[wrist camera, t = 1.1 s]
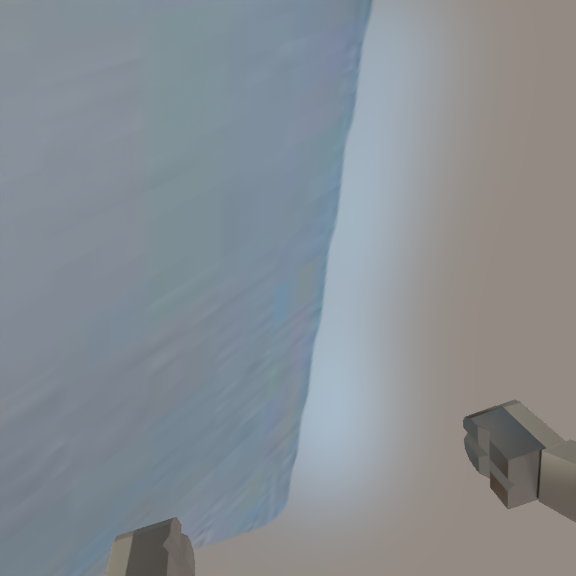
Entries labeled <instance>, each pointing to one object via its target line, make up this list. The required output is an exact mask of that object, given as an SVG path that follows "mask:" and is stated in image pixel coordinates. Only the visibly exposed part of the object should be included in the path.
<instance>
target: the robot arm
mask: <svg viewBox="0 0 576 576" xmlns="http://www.w3.org/2000/svg"><path fill="white" fill-rule="evenodd" d="M463 427H464V429H465V430H466V431H467V432H468V433H467V435H466V437H465V438H464V444H465V450H466V452H467V455H468V457H469V459H470V461H471V462H472V464H473V466H474V467H475V468H476V470H477V471H478V472H479V473H480V474H482V475H484V476H486V477H488V478H490V488H491V489H492V490H493V491H494V493H495V494H496V495H497V496H498V498H499V499H500V500H501V501H502V503H503V504H504V505H505V507H506V508H507V509H511V508H514V507H517V506H520V505H523V504H526V503H528V502H532V501H535V500H537V499H539V502H541V503H543V504H544V505H546V506H548V507H550V508H551V509H553V510H555V511H557V512H558V513H560V514H562V515H564V516H566V517H567V518H569V519H571V520H572V521H574V522H576V441H573V440H569V441H565V440H564V439H563V438H561V437H560V436H559V435H558V434H557V433H556V432H554V431H553V430H552V429H551V428H550V427H548V426H547V425H546V424H545V423H544V422H543V421H542V420H540V419H539V418H538V417H537V416H536V415H534V414H533V413H532V412H531V411H530V410H529V409H528V408H526V407H525V406H524V405H523V404H522V403H521V402H520V401H517V400H512V401H509V402H506V403H503V404H500V405H498V406H494V407H491V408H488V409H485V410H483V411H480V412H477V413H474V414H471V415H469V416H466V417H465V418H464V420H463ZM106 576H195V560H194V553H193V548H192V545H191V542H190V540H189V538H188V536H187V535H184V534H182V533H181V524H180V522H179V520H178V519H177V517H175V518H172V519H168V520H165V521H162V522H159V523H156V524H153V525H149V526H146V527H143V528H140V529H137V530H134V531H131V532H128V533H125V534H122V535H119V536H117V537H116V539H115V541H114V542H113V545H112V549H111V554H110V558H109V562H108V567H107V571H106Z"/></svg>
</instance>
